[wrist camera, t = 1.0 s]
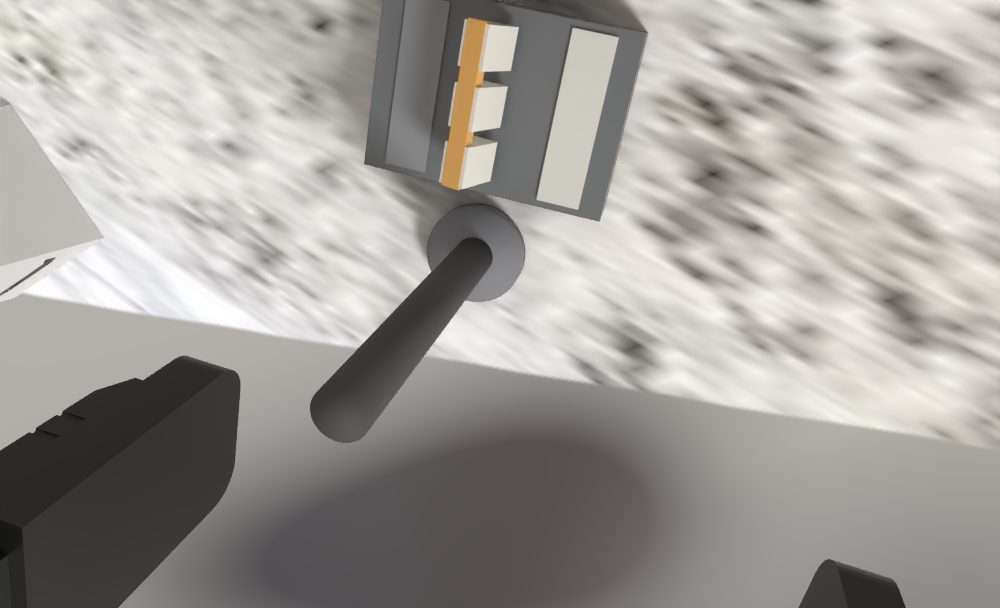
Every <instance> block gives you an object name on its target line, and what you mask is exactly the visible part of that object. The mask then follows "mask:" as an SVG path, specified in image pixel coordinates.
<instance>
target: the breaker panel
mask: <svg viewBox="0 0 1000 608" xmlns="http://www.w3.org/2000/svg"><path fill="white" fill-rule="evenodd" d="M468 18H476V19H481V20H485V21H492V22H498V23H503V24H507V25H511V26H516V27H519V29H518V35H517V40H516V45H515V51H514V56H513V62H512V67H511V71H492V72H484V77H483V81H484V80H485V81H489V82H493V83H497V84H501V85H504V86H508V89H507V94H506V99H505V105H504V110H503V115H502V121H501V126H500V128H495V129H489V130H483V131H477V132H474V135H473V136H478V137H482V138H485V139H488V140H492V141H495V142H497V148H496V153H495V159H494V164H493V169H492V175H491V180H490V181H489V182H486V183H482V184H479V185H475V186H472V187H468V188H465V189H468V190H472V191H476V192H480V193H484V194H488V195H492V196H497V197H501V198H505V199H509V200H513V201H517V202H521V203H525V204H529V205H533V206H538V207H542V208H546V209H550V210H554V211H558V212H562V213H566V214H570V215H574V216H579V217H583V218H587V219H591V220H595V221H600V219H601V216H602V213H603V211H604V208H605V204H606V200H607V196H608V192H609V188H610V184H611V180H612V176H613V172H614V168H615V164H616V160H617V156H618V152H619V148H620V144H621V140H622V136H623V132H624V128H625V124H626V120H627V116H628V112H629V108H630V104H631V100H632V96H633V92H634V88H635V84H636V80H637V76H638V72H639V68H640V64H641V60H642V56H643V52H644V48H645V44H646V40H647V36H648V33H646V32H641V31H636V30H631V29H626V28H622V27H617V26H612V25H607V24H603V23H598V22H593V21H588V20H583V19H579V18H574V17H569V16H564V15H559V14H555V13H550V12H545V11H540V10H536V9H531V8H526V7H521V6H516V5H512V4H507V3H502V2H497V1H492V0H383V7H382V15H381V24H380V32H379V41H378V50H377V58H376V67H375V75H374V84H373V93H372V101H371V110H370V118H369V127H368V135H367V144H366V153H365V161H364V164H365V165H369V166H374V167H378V168H382V169H386V170H390V171H394V172H398V173H402V174H406V175H410V176H415V177H419V178H423V179H427V180H431V181H435V182H439V179H440V173H441V166H442V160H443V154H444V147H445V141H448V140H449V135H450V128H451V126H448V122H449V116H450V109H451V103H452V97H453V90H454V84H455V82H458V78H459V72H460V66H458V59H459V53H460V46H461V40H462V34H463V27H464V21H465V19H468ZM439 183H440V182H439Z"/></svg>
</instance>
